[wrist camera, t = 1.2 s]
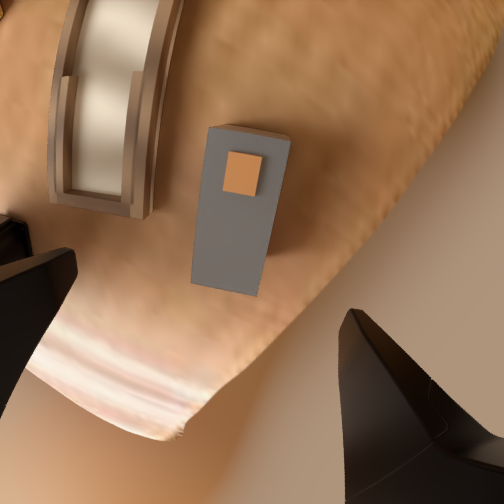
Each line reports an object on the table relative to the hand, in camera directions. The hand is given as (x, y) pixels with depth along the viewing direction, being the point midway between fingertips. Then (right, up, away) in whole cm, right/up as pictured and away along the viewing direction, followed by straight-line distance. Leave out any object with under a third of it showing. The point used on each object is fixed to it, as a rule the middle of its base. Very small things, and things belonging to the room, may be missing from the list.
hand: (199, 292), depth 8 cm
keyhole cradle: (-8, +14, +8) cm, 18 cm away
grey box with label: (+1, +5, +11) cm, 12 cm away
